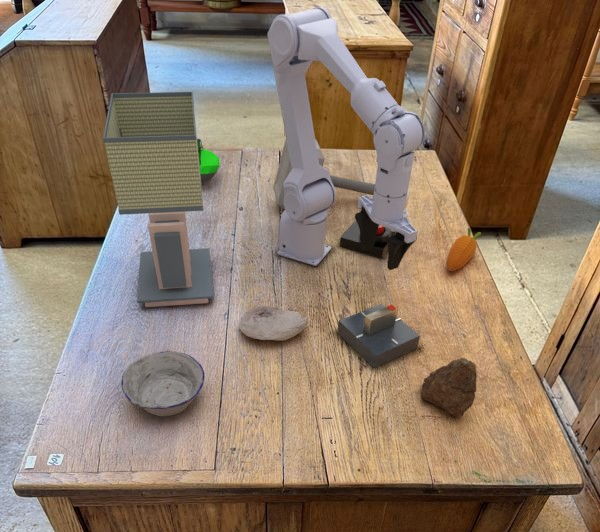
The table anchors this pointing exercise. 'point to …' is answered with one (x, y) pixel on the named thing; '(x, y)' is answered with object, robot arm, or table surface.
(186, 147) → the desk lamp
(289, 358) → the table surface
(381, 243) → the button box
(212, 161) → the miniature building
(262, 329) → the fossil
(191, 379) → the bowl
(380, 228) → the red button
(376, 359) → the panel
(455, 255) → the carrot
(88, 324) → the table surface
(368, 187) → the hammer
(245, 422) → the table surface
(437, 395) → the rock
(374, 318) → the silver block
